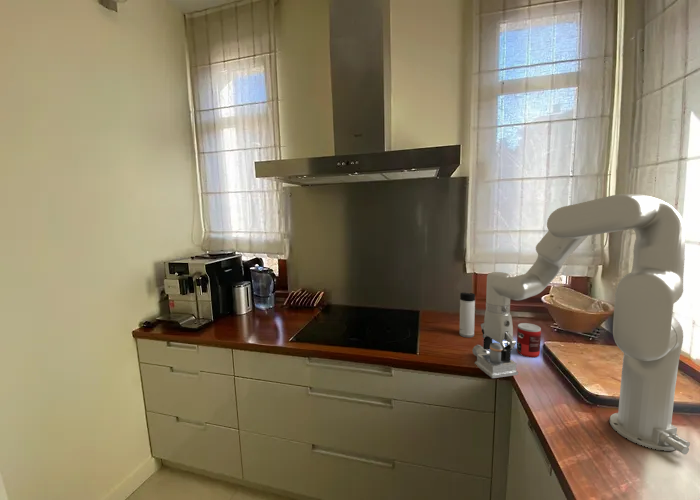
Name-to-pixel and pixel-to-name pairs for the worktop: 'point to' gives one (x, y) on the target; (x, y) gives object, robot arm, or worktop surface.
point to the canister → (495, 353)
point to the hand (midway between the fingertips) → (496, 354)
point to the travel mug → (467, 314)
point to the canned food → (528, 340)
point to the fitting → (493, 369)
